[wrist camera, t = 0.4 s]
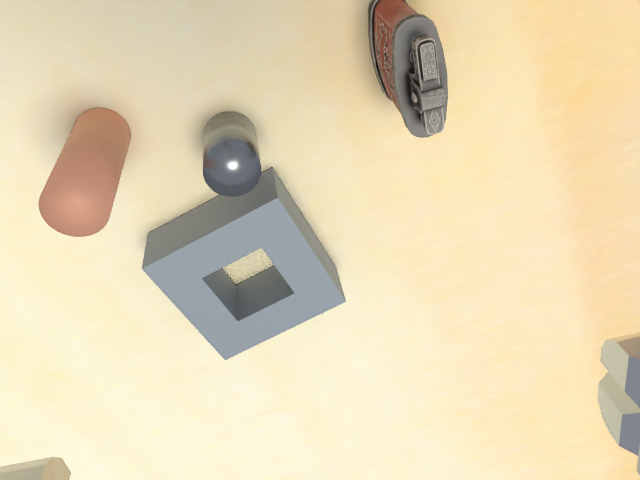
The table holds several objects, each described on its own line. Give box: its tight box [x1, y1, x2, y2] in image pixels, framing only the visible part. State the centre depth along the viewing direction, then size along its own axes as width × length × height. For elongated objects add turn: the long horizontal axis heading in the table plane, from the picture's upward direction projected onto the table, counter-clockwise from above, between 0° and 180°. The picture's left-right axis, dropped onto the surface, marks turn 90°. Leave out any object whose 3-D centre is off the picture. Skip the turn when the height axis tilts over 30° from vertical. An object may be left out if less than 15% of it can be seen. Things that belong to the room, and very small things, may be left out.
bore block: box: [142, 167, 346, 360], centre depth 50 cm, size 12×12×5 cm
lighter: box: [368, 0, 448, 138], centre depth 40 cm, size 8×3×10 cm, turn 13°
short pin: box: [203, 112, 261, 197], centre depth 43 cm, size 4×4×6 cm
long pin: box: [39, 108, 131, 237], centre depth 40 cm, size 4×4×11 cm
